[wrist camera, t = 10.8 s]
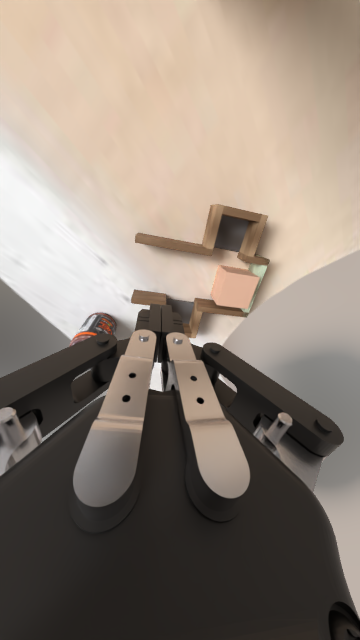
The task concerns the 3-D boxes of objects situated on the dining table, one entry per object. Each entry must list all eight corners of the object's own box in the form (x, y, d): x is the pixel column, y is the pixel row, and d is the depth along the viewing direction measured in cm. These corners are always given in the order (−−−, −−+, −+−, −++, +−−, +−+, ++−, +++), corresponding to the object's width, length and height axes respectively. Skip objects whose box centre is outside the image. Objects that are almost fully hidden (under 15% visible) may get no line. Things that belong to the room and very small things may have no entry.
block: (218, 264, 35) (226, 272, 31) (247, 269, 36) (259, 277, 32) (210, 294, 38) (216, 305, 33) (237, 298, 39) (247, 309, 34)
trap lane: (141, 189, 28) (138, 186, 25) (272, 219, 32) (286, 219, 28) (132, 321, 39) (129, 331, 35) (230, 331, 43) (236, 342, 39)
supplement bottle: (123, 326, 39) (110, 363, 30) (102, 340, 41) (84, 381, 31) (101, 305, 37) (80, 339, 27) (80, 322, 38) (52, 360, 28)
